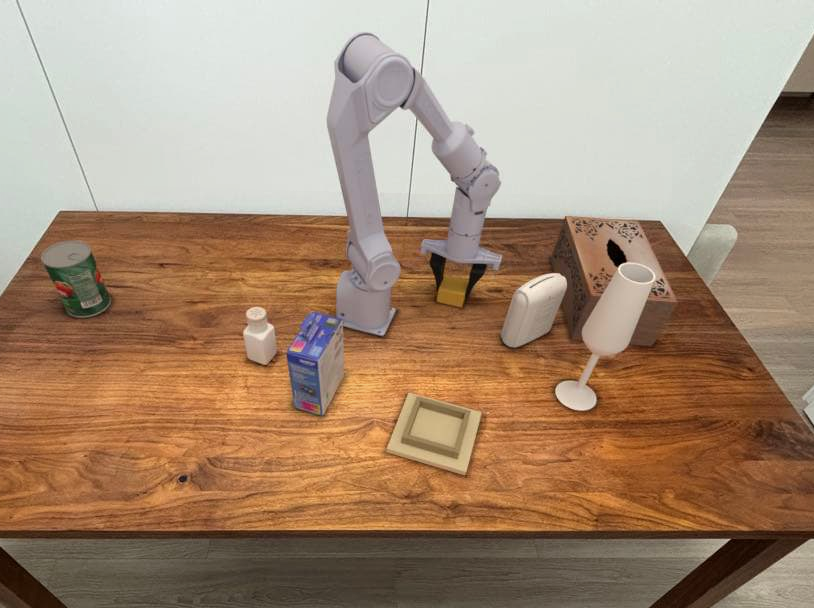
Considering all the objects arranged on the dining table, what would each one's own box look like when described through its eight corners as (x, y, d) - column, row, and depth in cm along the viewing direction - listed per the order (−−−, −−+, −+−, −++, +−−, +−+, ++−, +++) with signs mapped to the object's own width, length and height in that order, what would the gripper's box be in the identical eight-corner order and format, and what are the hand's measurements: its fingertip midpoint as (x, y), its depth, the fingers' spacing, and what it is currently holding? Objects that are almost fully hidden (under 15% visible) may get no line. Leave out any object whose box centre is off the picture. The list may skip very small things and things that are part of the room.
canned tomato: (56, 311, 98) (29, 259, 90) (86, 287, 103) (63, 236, 94) (91, 322, 96) (67, 271, 88) (120, 297, 101) (100, 246, 93)
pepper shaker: (278, 352, 93) (273, 309, 85) (266, 367, 90) (260, 324, 83) (259, 345, 94) (252, 302, 86) (246, 359, 91) (238, 316, 84)
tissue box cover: (651, 346, 97) (677, 302, 89) (571, 340, 97) (590, 295, 90) (618, 263, 114) (638, 221, 106) (550, 258, 114) (565, 215, 107)
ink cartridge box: (314, 366, 91) (311, 297, 80) (345, 374, 90) (345, 305, 79) (290, 407, 85) (283, 339, 74) (323, 417, 84) (320, 348, 73)
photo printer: (536, 319, 101) (556, 263, 92) (553, 332, 99) (575, 275, 89) (496, 338, 97) (512, 281, 88) (512, 352, 95) (531, 295, 85)
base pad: (386, 452, 80) (387, 442, 78) (408, 396, 87) (409, 385, 85) (465, 475, 77) (468, 466, 75) (480, 415, 85) (484, 405, 83)
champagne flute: (574, 416, 85) (637, 294, 67) (546, 388, 89) (599, 265, 71) (605, 402, 88) (674, 280, 69) (577, 375, 91) (635, 253, 73)
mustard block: (436, 301, 103) (438, 289, 101) (442, 287, 106) (444, 274, 104) (461, 307, 102) (464, 295, 100) (467, 292, 106) (469, 280, 103)
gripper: (510, 224, 94) (494, 288, 104) (431, 208, 97) (422, 271, 107) (504, 245, 90) (487, 309, 100) (421, 228, 93) (413, 292, 103)
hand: (453, 291), depth 103 cm, fingers closed on mustard block, 5 cm apart
